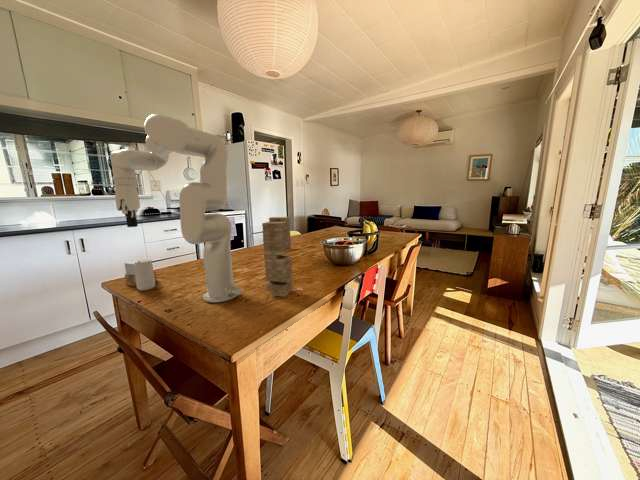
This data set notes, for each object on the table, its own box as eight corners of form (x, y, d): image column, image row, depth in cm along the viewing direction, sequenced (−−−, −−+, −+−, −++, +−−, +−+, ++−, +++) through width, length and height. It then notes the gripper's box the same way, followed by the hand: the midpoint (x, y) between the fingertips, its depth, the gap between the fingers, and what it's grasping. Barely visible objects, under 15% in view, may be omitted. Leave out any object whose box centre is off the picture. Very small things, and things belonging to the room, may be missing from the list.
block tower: (265, 296, 95) (260, 218, 90) (275, 287, 103) (271, 216, 98) (284, 298, 93) (281, 219, 88) (293, 289, 101) (290, 216, 96)
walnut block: (156, 280, 116) (155, 270, 115) (139, 287, 108) (138, 275, 107) (143, 279, 118) (141, 269, 117) (126, 285, 111) (124, 274, 110)
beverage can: (134, 289, 105) (129, 261, 102) (150, 284, 110) (146, 258, 108) (142, 292, 102) (138, 263, 99) (159, 287, 107) (155, 259, 105)
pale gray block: (153, 270, 114) (151, 260, 113) (138, 275, 108) (136, 264, 107) (141, 269, 116) (140, 259, 116) (126, 274, 110) (124, 263, 109)
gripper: (125, 183, 112) (131, 224, 115) (104, 182, 97) (112, 229, 101) (144, 183, 113) (149, 224, 117) (127, 182, 99) (134, 228, 102)
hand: (132, 226), depth 109 cm, fingers closed
